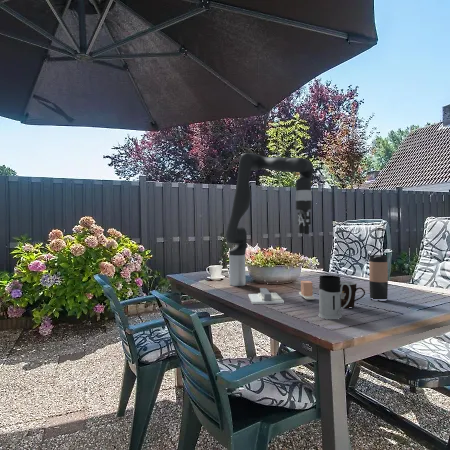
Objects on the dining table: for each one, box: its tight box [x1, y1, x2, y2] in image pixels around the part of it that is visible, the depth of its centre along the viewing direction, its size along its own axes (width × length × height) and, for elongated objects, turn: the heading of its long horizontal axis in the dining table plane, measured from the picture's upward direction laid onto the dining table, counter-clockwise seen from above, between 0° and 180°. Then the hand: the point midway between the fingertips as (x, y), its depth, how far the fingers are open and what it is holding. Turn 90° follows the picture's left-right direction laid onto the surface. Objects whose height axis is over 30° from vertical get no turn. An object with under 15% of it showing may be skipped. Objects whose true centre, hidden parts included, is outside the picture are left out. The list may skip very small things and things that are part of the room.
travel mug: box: [368, 254, 389, 300], centre depth 152 cm, size 8×8×20 cm
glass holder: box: [317, 274, 351, 320], centre depth 124 cm, size 9×14×15 cm, turn 28°
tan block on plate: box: [298, 280, 316, 300], centre depth 156 cm, size 12×4×7 cm, turn 2°
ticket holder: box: [247, 287, 285, 305], centre depth 155 cm, size 16×14×4 cm
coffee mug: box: [340, 280, 366, 309], centre depth 140 cm, size 12×9×10 cm
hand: (303, 233), depth 162 cm, fingers open, 8 cm apart
